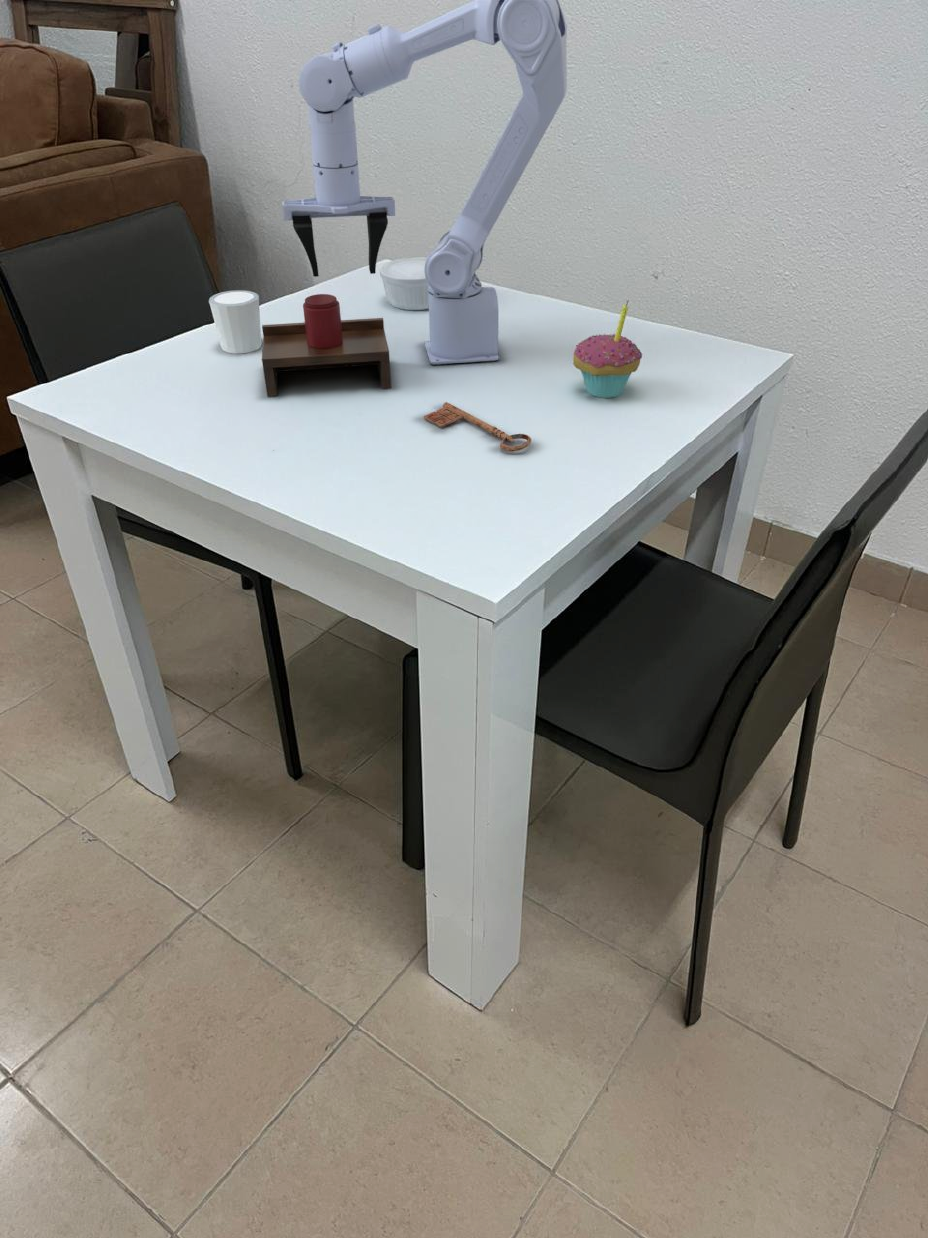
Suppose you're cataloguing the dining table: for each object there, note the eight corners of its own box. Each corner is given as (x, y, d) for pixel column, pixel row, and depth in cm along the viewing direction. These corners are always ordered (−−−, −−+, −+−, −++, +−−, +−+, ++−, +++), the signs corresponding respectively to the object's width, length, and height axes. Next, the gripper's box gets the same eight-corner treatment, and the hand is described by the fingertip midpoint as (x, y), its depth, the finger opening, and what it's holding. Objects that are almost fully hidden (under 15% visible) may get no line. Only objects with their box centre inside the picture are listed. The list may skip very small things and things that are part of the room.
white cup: (271, 338, 135) (264, 289, 131) (258, 355, 130) (250, 305, 125) (225, 336, 136) (217, 288, 131) (210, 354, 130) (201, 304, 126)
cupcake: (645, 384, 121) (655, 291, 113) (626, 409, 114) (636, 313, 107) (582, 373, 123) (589, 282, 116) (560, 397, 117) (566, 303, 110)
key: (421, 419, 113) (498, 462, 104) (420, 412, 113) (498, 455, 103) (458, 402, 116) (537, 444, 106) (457, 396, 115) (537, 437, 106)
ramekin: (374, 311, 144) (372, 276, 141) (390, 288, 152) (388, 255, 149) (444, 314, 142) (444, 279, 139) (457, 291, 151) (456, 258, 148)
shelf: (385, 362, 127) (383, 317, 124) (391, 388, 120) (388, 341, 116) (268, 369, 125) (262, 324, 122) (267, 396, 118) (260, 349, 115)
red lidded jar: (342, 334, 122) (338, 292, 118) (343, 347, 118) (339, 303, 115) (307, 336, 121) (302, 294, 118) (307, 349, 118) (302, 305, 114)
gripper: (277, 172, 113) (290, 284, 121) (395, 168, 115) (400, 278, 123) (277, 160, 119) (290, 268, 127) (389, 156, 121) (394, 263, 129)
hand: (344, 272), depth 126 cm, fingers open, 7 cm apart
